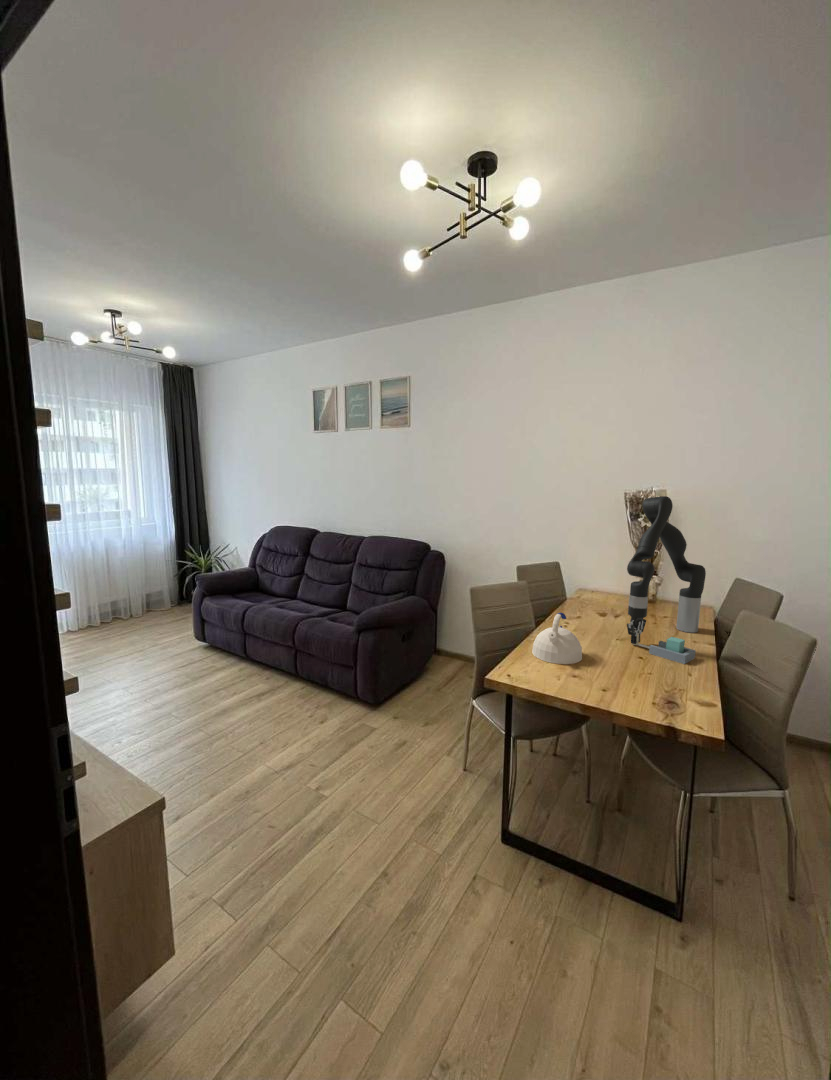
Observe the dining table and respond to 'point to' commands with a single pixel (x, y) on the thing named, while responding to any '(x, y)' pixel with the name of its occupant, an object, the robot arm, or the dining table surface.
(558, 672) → the dining table surface
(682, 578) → the robot arm
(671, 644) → the tethered block
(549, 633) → the kettle
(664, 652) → the lane
